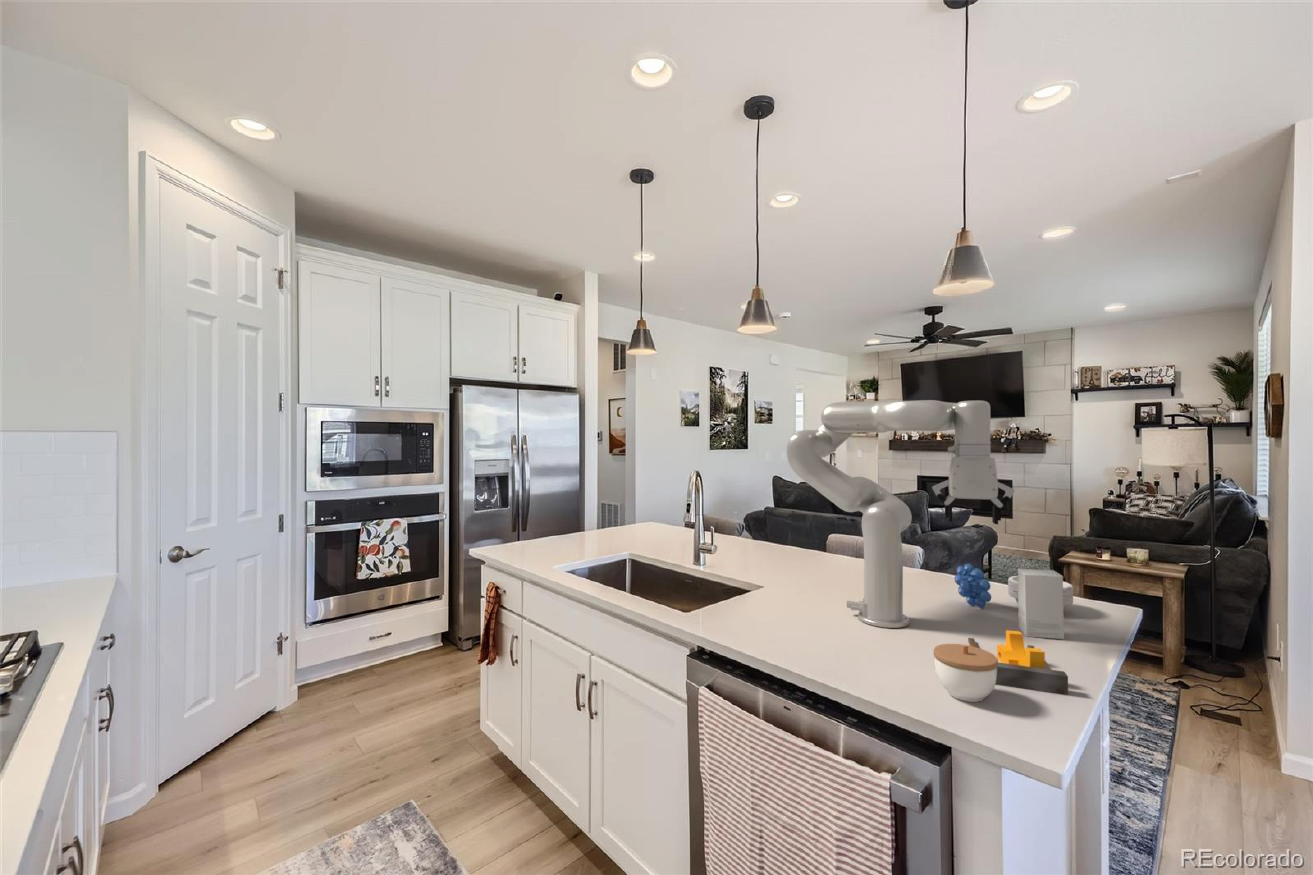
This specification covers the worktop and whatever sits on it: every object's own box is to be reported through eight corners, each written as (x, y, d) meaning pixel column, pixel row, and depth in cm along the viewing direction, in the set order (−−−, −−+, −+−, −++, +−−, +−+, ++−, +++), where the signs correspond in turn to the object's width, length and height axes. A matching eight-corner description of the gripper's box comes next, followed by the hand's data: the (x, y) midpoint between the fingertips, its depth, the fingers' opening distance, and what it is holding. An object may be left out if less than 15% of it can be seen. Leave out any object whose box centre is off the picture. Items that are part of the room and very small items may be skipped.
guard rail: (980, 681, 110) (980, 664, 110) (965, 640, 132) (965, 626, 132) (1067, 694, 105) (1067, 676, 105) (1036, 649, 127) (1036, 634, 127)
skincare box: (1055, 631, 138) (1055, 569, 138) (1065, 641, 132) (1065, 576, 132) (1016, 628, 141) (1016, 567, 141) (1024, 636, 135) (1024, 573, 135)
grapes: (944, 601, 163) (944, 561, 163) (961, 599, 166) (961, 559, 166) (978, 613, 152) (978, 570, 152) (996, 611, 155) (996, 568, 155)
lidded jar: (1003, 713, 98) (1003, 660, 98) (935, 701, 102) (935, 651, 102) (992, 687, 108) (992, 639, 108) (931, 678, 112) (931, 632, 112)
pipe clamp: (997, 659, 122) (997, 629, 122) (1019, 660, 121) (1019, 631, 121) (1020, 682, 110) (1020, 650, 110) (1044, 684, 109) (1044, 652, 109)
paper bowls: (1045, 600, 165) (1045, 573, 165) (1087, 617, 149) (1087, 587, 149) (996, 601, 164) (996, 574, 164) (1033, 618, 149) (1033, 588, 149)
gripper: (933, 451, 133) (933, 522, 133) (1017, 452, 126) (1017, 527, 127) (931, 451, 140) (931, 518, 140) (1010, 451, 133) (1010, 522, 133)
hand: (972, 522), depth 133 cm, fingers open, 9 cm apart
